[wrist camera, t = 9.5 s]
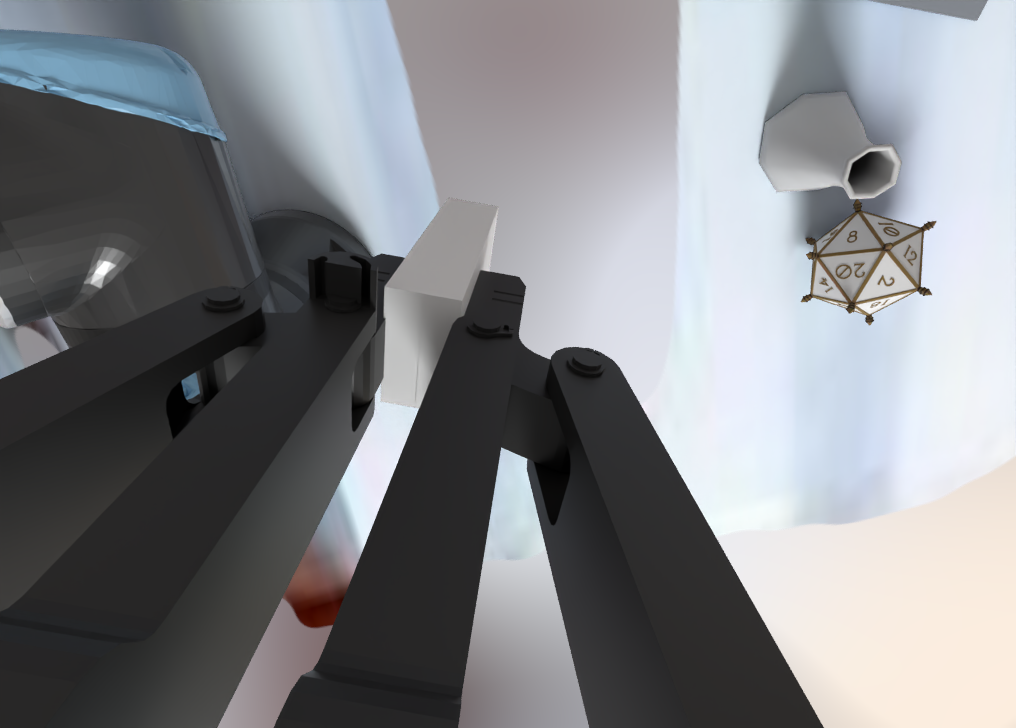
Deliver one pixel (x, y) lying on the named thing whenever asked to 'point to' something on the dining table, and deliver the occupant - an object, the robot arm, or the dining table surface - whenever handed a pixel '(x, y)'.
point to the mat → (943, 7)
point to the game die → (867, 263)
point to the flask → (825, 149)
